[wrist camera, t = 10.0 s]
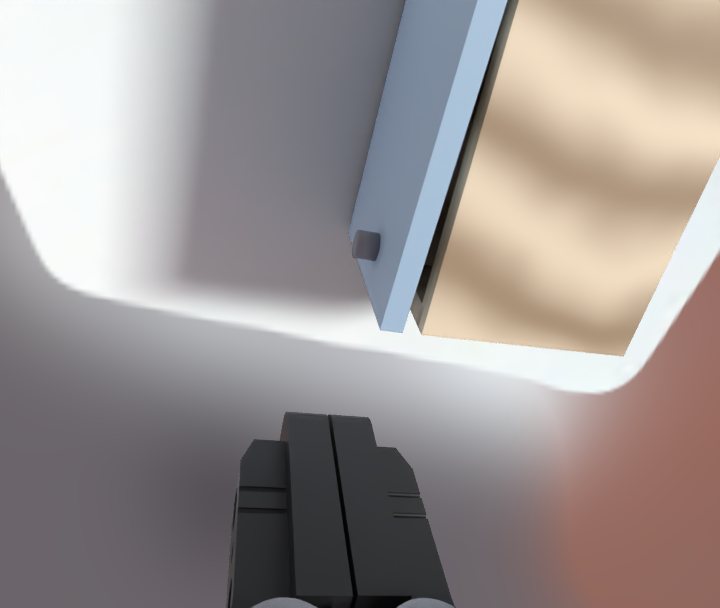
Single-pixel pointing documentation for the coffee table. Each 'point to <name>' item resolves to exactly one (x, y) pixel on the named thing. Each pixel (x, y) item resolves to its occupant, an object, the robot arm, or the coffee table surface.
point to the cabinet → (575, 173)
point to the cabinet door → (418, 144)
